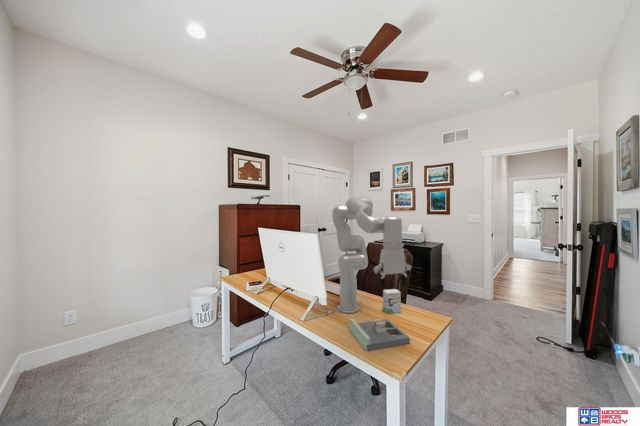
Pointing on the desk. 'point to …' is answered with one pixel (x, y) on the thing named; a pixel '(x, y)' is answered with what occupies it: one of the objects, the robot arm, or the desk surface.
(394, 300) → the ink box
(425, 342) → the desk surface
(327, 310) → the desk surface
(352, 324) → the trap deck
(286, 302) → the desk surface
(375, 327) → the cream block
